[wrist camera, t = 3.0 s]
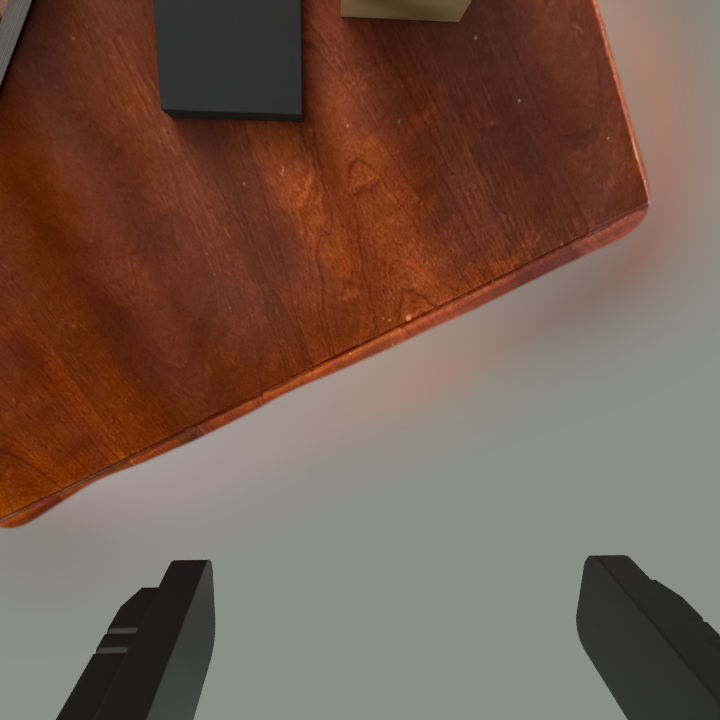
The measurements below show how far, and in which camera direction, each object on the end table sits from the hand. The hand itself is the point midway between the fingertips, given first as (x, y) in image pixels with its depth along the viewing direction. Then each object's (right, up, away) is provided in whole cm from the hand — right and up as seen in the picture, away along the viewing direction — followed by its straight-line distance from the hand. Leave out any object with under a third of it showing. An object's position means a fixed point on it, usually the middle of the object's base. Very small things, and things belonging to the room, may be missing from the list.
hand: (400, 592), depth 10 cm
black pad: (-9, +30, +21) cm, 38 cm away
